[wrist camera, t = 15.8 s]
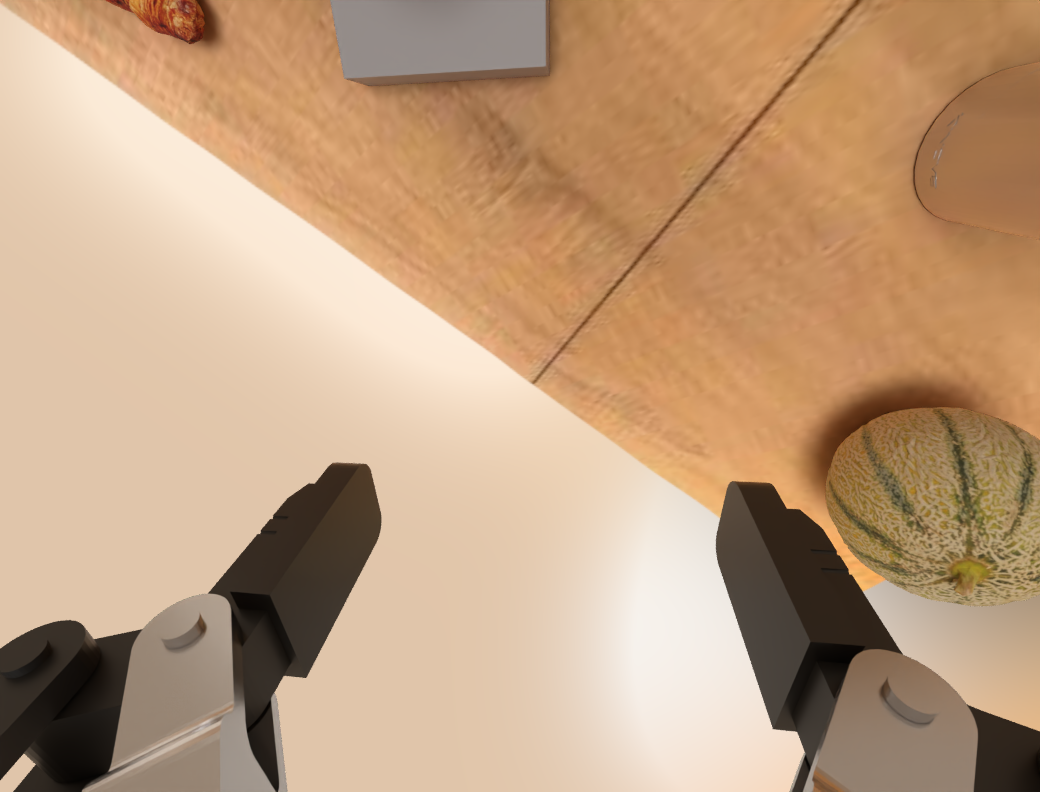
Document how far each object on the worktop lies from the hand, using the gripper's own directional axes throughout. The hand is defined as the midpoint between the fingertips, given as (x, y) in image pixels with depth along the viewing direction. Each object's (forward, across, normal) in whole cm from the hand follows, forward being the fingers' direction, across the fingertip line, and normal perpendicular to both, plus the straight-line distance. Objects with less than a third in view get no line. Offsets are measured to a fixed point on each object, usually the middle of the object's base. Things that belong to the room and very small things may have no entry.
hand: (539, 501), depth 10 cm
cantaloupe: (+30, -29, +18) cm, 46 cm away
